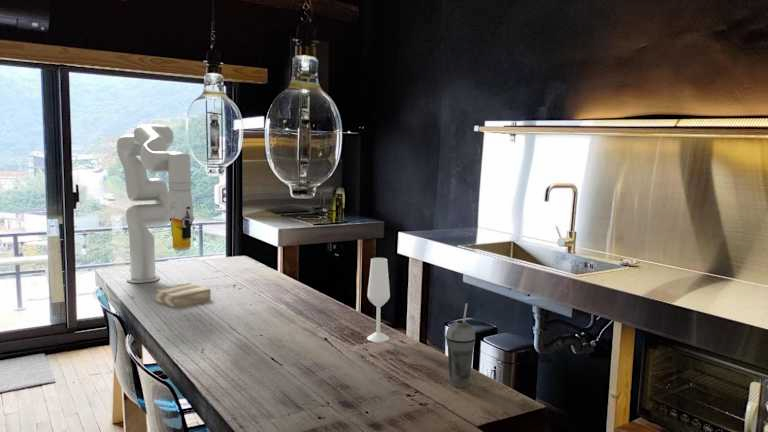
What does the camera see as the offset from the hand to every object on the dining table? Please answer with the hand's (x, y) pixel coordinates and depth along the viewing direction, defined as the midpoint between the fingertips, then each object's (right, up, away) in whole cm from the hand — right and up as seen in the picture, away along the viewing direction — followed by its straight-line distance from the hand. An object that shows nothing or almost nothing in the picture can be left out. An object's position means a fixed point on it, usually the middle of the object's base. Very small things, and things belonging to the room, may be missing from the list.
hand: (181, 236), depth 207 cm
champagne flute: (+71, -29, -36) cm, 85 cm away
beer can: (0, -5, +1) cm, 5 cm away
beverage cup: (+92, -34, -68) cm, 119 cm away
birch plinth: (0, -23, +3) cm, 23 cm away
